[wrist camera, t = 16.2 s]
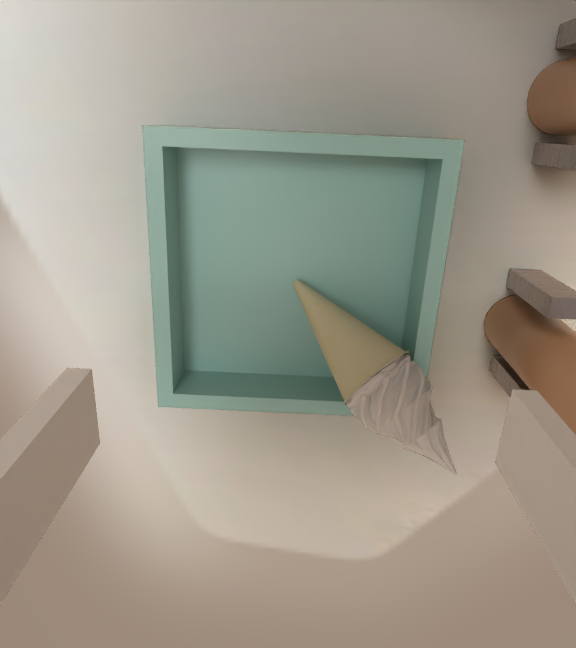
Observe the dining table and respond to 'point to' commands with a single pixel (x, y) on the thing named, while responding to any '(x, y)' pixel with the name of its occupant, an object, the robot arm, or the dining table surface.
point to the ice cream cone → (376, 378)
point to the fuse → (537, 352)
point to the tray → (288, 256)
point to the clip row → (535, 283)
